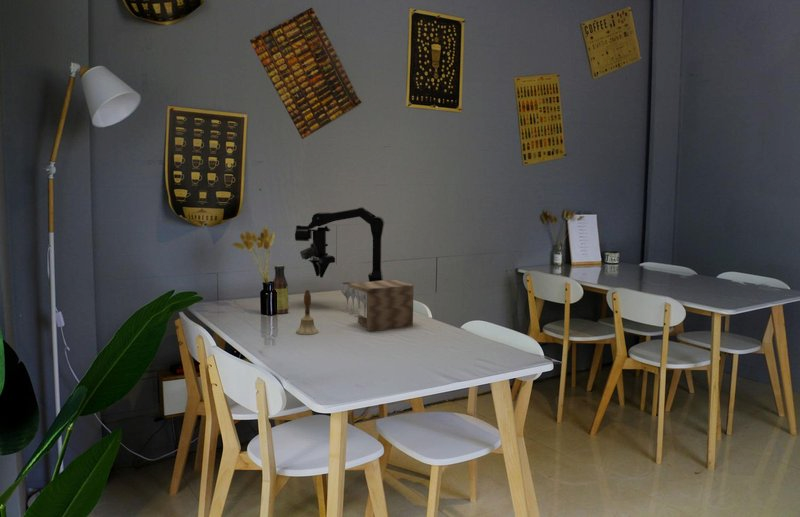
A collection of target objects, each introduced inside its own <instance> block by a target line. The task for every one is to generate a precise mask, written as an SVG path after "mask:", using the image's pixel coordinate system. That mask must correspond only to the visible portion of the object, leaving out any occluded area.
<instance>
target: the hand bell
mask: <svg viewBox="0 0 800 517" xmlns="http://www.w3.org/2000/svg"><path fill="white" fill-rule="evenodd" d="M303 303H304V307H305V308H304V316H303V317H301V318H300V324H299V326H298V328H297V329H296V331H295V333H296V334H297V335H302V336H303V335H304V336H312V335H316V334H318V333H319V330H318V329H317V328H316V325H315V323H314V318H313V317H312V316H311V315H310V314H311V313H310V306H311V303H312V297H311V292H310V289H305V292H304V295H303Z"/></svg>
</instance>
